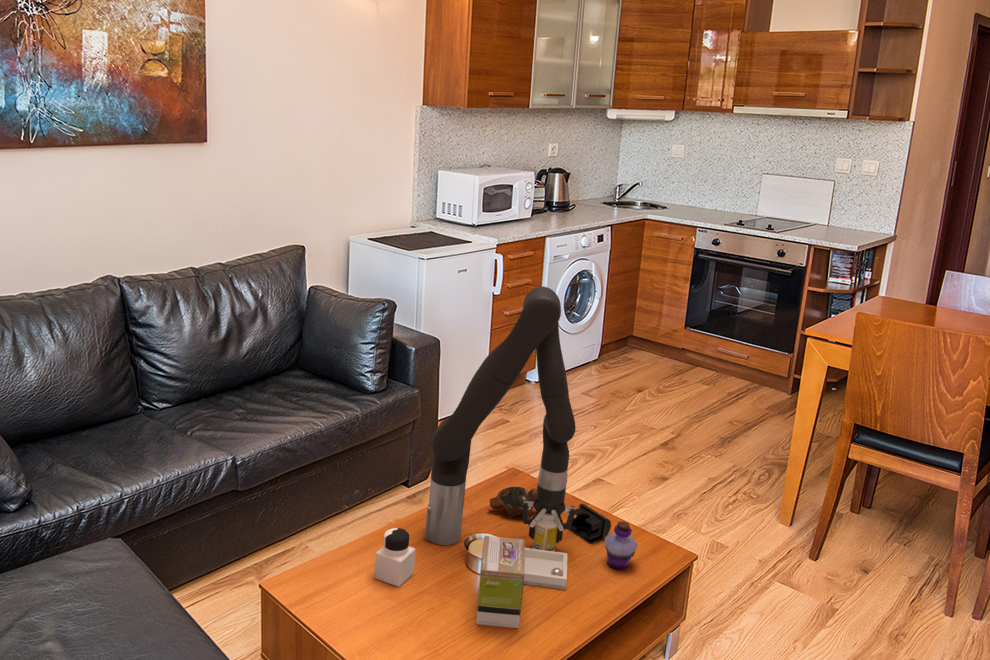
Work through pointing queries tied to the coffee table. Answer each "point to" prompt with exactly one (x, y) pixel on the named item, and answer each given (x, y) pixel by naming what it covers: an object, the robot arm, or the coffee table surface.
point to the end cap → (590, 524)
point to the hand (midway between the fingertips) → (545, 539)
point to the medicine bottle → (395, 558)
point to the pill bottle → (545, 533)
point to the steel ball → (557, 572)
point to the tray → (544, 568)
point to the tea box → (501, 582)
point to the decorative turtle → (513, 500)
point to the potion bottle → (620, 546)
